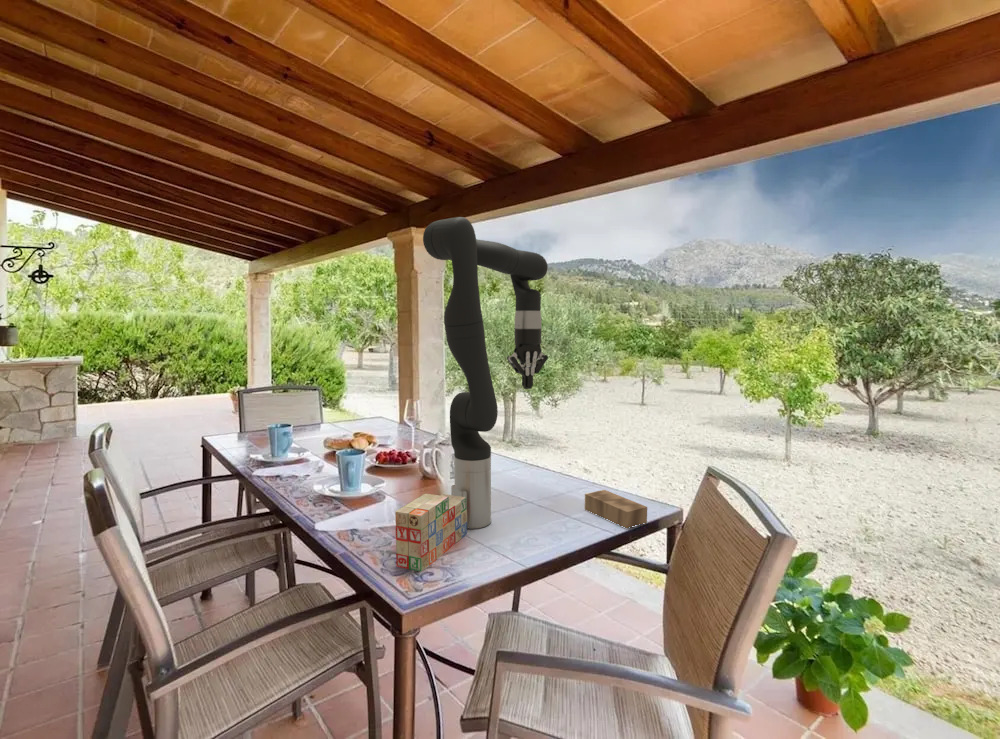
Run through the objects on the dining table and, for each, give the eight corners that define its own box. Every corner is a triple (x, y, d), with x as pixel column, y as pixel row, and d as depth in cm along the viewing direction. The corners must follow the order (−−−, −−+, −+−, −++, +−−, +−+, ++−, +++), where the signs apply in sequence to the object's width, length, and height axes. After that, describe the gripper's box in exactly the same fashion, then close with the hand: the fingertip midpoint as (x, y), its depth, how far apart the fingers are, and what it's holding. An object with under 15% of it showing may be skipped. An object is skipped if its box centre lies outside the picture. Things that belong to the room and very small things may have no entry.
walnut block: (584, 509, 147) (626, 529, 134) (584, 493, 147) (627, 512, 133) (603, 505, 151) (646, 524, 137) (604, 489, 151) (647, 506, 137)
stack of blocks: (444, 530, 133) (444, 481, 132) (467, 534, 131) (467, 484, 130) (395, 567, 114) (394, 510, 112) (421, 572, 111) (420, 514, 110)
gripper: (515, 327, 145) (515, 391, 146) (555, 327, 152) (554, 388, 153) (500, 327, 151) (500, 388, 153) (539, 326, 158) (538, 385, 160)
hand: (527, 388), depth 153 cm, fingers closed
